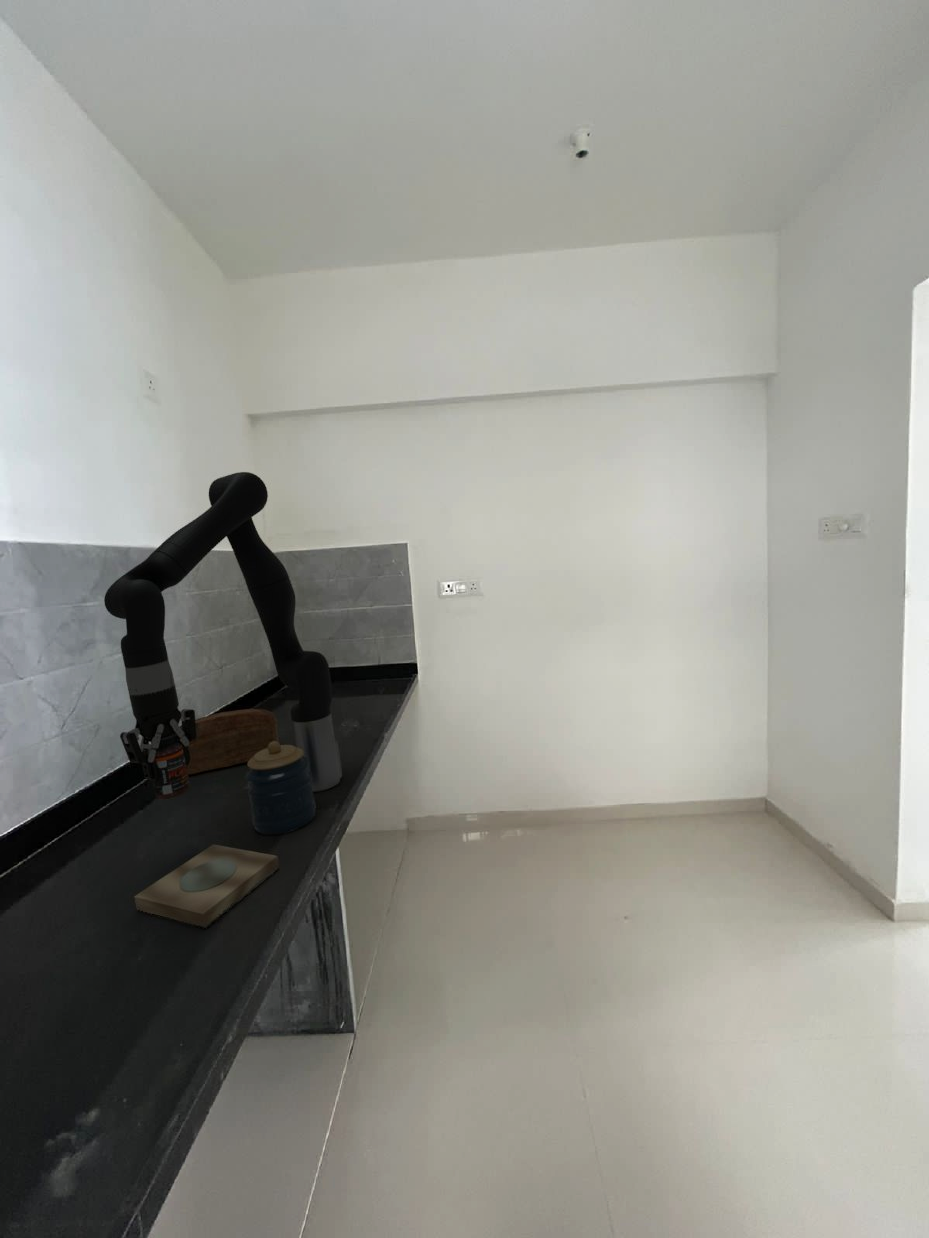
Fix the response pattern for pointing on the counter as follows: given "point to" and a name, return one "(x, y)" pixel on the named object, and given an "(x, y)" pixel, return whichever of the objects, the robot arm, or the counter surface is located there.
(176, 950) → the counter surface
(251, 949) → the counter surface
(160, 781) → the supplement bottle
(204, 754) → the bread
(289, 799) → the canister
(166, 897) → the oak board
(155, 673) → the robot arm
